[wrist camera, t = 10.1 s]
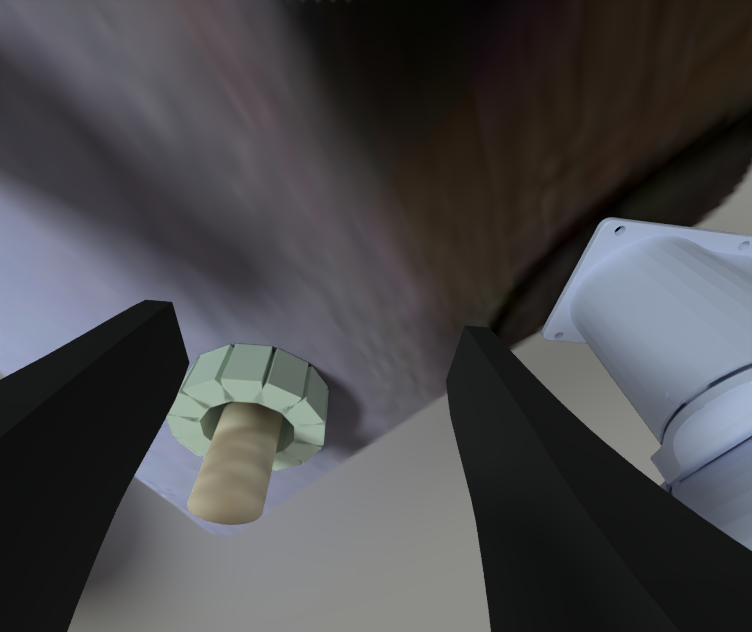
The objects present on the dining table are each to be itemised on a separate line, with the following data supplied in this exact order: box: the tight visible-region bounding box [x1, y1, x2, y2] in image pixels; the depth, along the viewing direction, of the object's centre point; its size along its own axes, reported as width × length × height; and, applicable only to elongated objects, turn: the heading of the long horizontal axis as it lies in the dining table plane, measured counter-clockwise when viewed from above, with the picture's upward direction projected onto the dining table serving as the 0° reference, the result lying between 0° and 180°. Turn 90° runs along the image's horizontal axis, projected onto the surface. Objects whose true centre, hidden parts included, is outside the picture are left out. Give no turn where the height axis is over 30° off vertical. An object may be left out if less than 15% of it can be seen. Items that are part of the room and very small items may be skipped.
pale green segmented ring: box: [167, 344, 329, 471], centre depth 25 cm, size 10×10×3 cm
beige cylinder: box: [187, 401, 284, 525], centre depth 23 cm, size 4×4×8 cm
